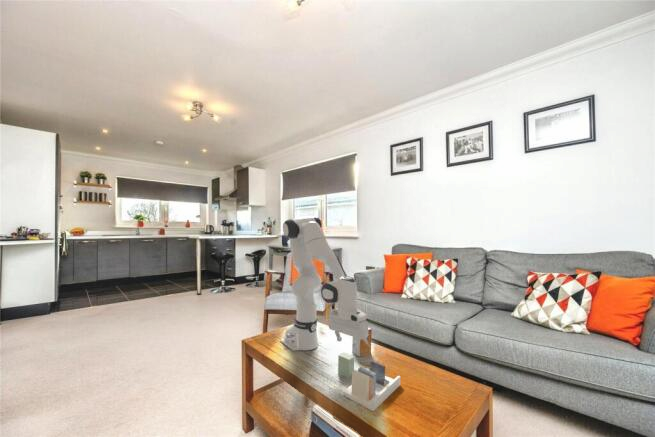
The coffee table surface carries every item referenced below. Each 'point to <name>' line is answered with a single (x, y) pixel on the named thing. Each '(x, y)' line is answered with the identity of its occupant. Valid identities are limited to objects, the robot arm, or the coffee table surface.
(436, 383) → the coffee table surface
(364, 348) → the small box
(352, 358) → the sage green cuboid
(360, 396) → the slotted holder
